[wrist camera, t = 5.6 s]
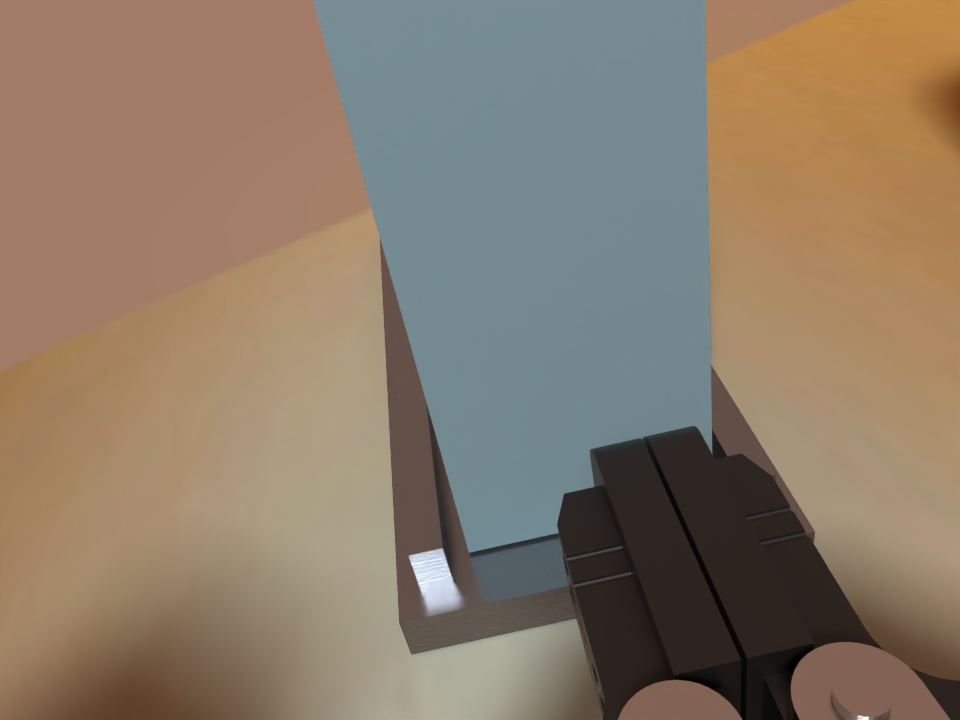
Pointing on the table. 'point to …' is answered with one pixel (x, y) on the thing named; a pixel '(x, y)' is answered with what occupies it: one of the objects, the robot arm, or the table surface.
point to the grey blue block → (537, 229)
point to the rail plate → (438, 532)
